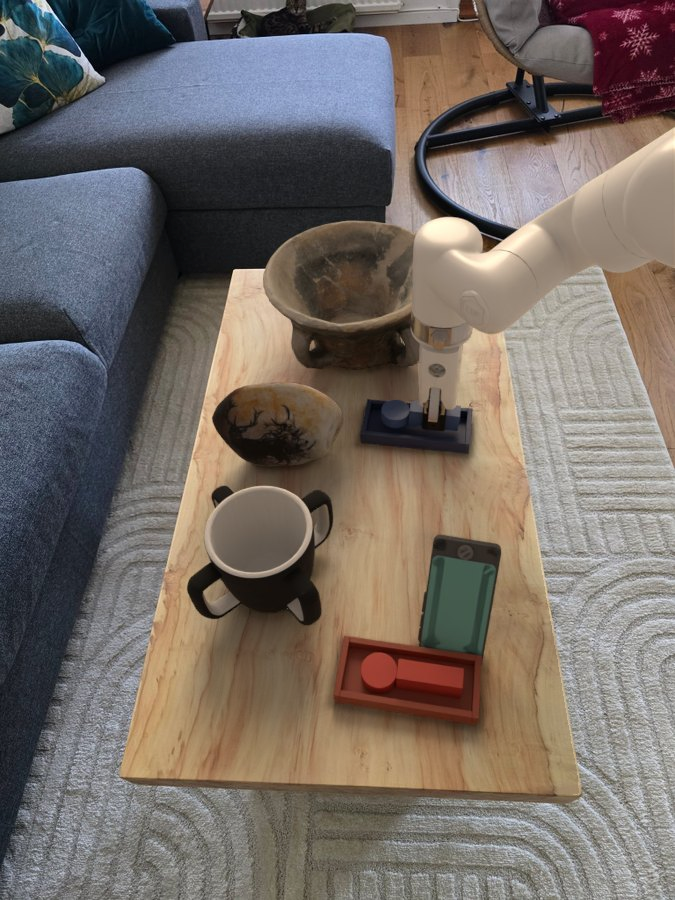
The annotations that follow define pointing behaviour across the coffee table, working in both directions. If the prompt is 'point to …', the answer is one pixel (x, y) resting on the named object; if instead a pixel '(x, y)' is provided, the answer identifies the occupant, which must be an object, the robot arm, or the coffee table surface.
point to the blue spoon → (414, 415)
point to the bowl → (346, 294)
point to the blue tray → (414, 432)
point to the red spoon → (410, 676)
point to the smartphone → (459, 595)
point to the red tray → (407, 701)
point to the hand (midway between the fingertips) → (434, 420)
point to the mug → (263, 552)
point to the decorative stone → (278, 423)
